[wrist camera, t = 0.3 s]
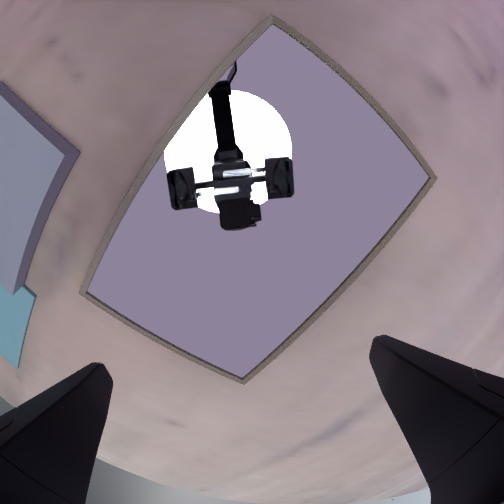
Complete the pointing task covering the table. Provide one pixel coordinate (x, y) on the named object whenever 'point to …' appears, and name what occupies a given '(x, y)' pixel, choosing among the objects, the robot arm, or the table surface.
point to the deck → (26, 183)
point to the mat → (14, 322)
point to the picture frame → (257, 207)
